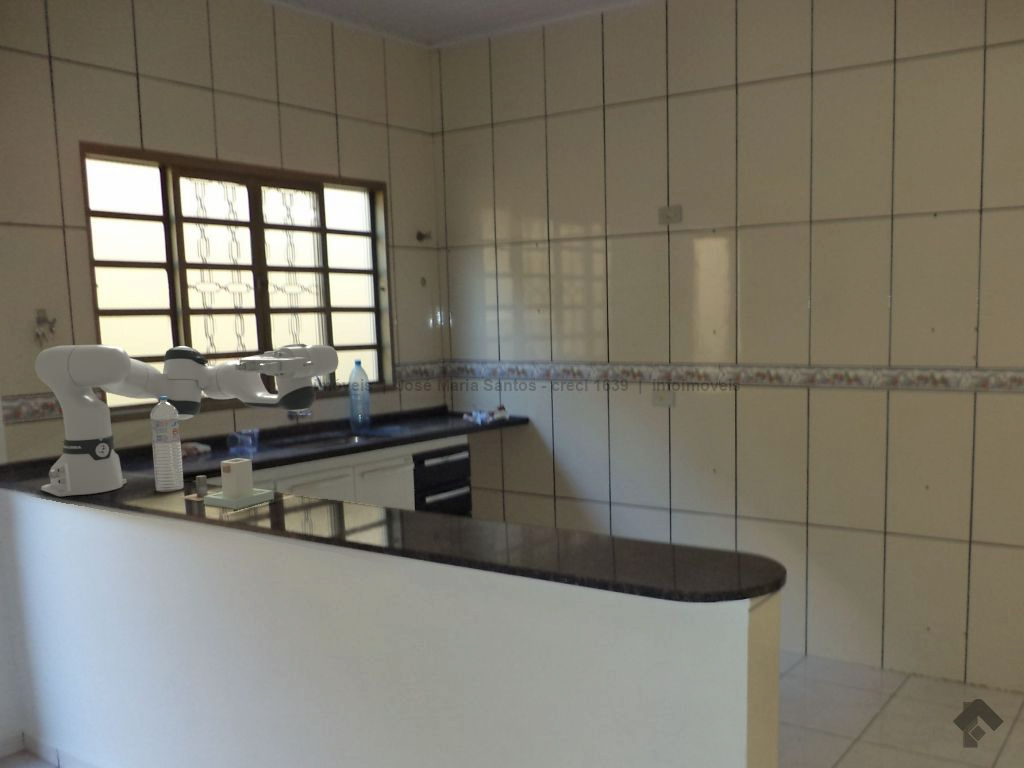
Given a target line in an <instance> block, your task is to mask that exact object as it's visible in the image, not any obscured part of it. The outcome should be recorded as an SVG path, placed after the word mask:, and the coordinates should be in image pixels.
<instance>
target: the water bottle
mask: <svg viewBox="0 0 1024 768" xmlns="http://www.w3.org/2000/svg"><path fill="white" fill-rule="evenodd" d="M159 399H160V403H159V404H157V405H156V404H155V406H154V407H153V408H152V410H151V411H150V414H149V416H150V417H149V418H150V422H151V424H150V425H151V434H152V435H151V436H152V437H151V438H152V443H151V444H152V455H153V466H154V481H155V482H154V483H155V489H156V490H155V491H157V492H161V493H163V492H165V493H167V492H174V491H179V490H182V489H184V487H185V485H184V473H183V471H184V470H183V459H182V456H183V455H182V446H181V445H182V444H181V438H180V437H181V436H180V427H179V426H180V425H179V424H180V423H179V419H178V417H179V415H178V411H177V409H176V408H175V407H174V406H173V405H171V404H170V403H168V402H167V396H162V397H159Z"/></svg>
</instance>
